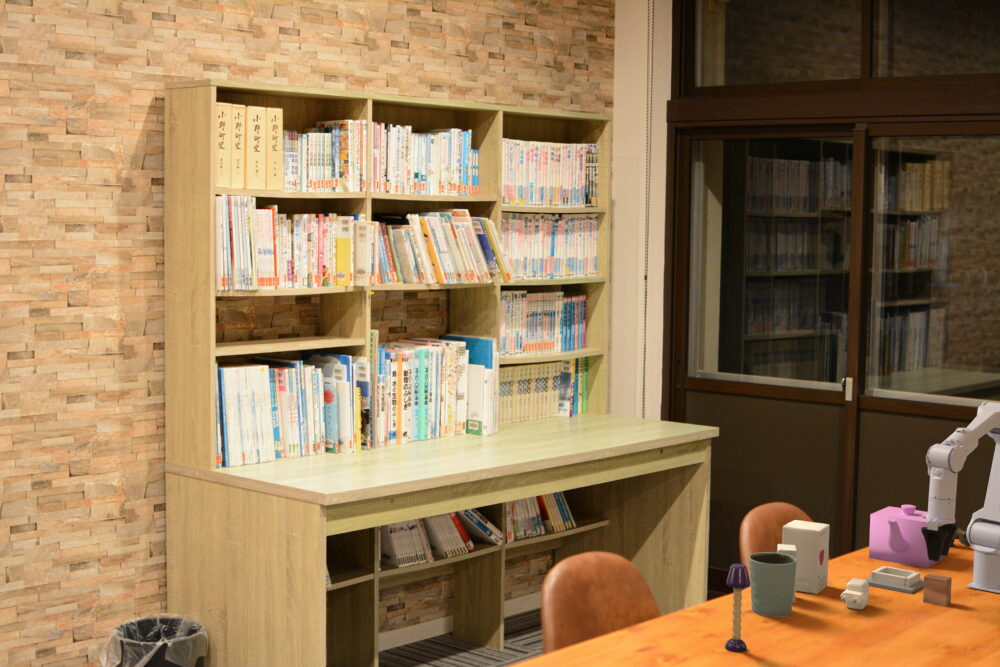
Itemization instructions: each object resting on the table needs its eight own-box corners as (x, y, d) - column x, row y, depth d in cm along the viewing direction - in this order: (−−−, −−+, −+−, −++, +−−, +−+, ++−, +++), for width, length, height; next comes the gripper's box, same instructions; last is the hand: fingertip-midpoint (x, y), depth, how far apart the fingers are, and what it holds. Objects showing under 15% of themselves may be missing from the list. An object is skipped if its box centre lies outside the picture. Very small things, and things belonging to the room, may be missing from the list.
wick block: (928, 599, 270) (929, 573, 270) (950, 603, 267) (951, 577, 267) (923, 602, 267) (924, 576, 267) (945, 606, 264) (946, 580, 264)
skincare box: (795, 603, 265) (797, 551, 264) (775, 602, 266) (777, 549, 265) (794, 596, 271) (795, 544, 270) (775, 594, 272) (776, 543, 271)
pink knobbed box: (858, 563, 301) (860, 509, 300) (893, 545, 321) (895, 494, 320) (917, 574, 292) (919, 518, 291) (950, 555, 311) (952, 502, 310)
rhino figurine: (972, 552, 314) (973, 530, 314) (921, 543, 323) (922, 522, 323) (977, 550, 317) (978, 528, 317) (927, 541, 326) (927, 519, 326)
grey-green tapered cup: (798, 608, 261) (800, 555, 260) (789, 621, 252) (791, 566, 251) (753, 602, 265) (754, 549, 264) (742, 614, 256) (744, 560, 255)
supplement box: (817, 595, 272) (819, 531, 271) (779, 588, 277) (781, 525, 276) (828, 586, 279) (830, 523, 278) (791, 580, 284) (793, 518, 283)
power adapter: (858, 618, 255) (859, 591, 254) (835, 614, 257) (836, 587, 257) (871, 605, 264) (872, 579, 264) (849, 601, 267) (850, 576, 267)
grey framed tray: (880, 574, 291) (881, 562, 291) (929, 583, 283) (929, 571, 283) (861, 584, 282) (861, 572, 281) (911, 593, 274) (911, 581, 274)
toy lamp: (721, 644, 236) (724, 562, 235) (744, 643, 236) (746, 561, 235) (728, 652, 231) (730, 568, 230) (751, 651, 232) (754, 568, 230)
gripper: (932, 492, 274) (928, 550, 274) (915, 498, 262) (911, 559, 262) (963, 496, 270) (959, 555, 270) (948, 503, 258) (944, 565, 258)
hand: (938, 557), depth 266 cm, fingers open, 7 cm apart
